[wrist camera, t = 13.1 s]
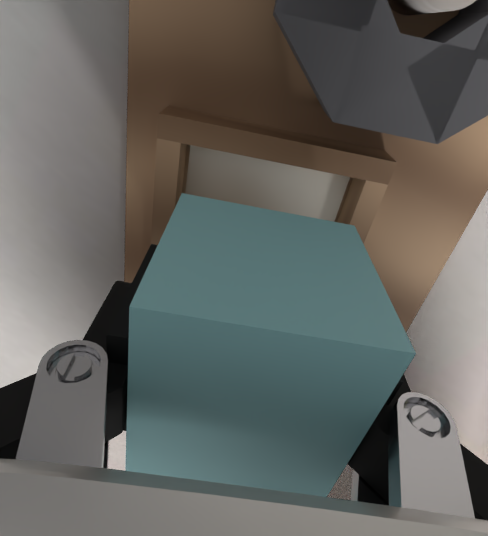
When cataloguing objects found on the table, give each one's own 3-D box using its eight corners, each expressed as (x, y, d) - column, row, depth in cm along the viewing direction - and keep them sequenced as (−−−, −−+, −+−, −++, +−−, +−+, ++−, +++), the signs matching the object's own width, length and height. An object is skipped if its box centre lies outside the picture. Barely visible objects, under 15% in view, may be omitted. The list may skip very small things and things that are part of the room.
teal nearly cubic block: (299, 366, 14) (316, 512, 10) (166, 345, 14) (124, 488, 9) (354, 225, 11) (416, 353, 7) (181, 192, 10) (129, 306, 6)
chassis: (388, 334, 20) (415, 399, 17) (131, 290, 19) (102, 348, 16) (663, -175, 10) (880, -286, 7) (149, -322, 9) (78, -544, 6)
